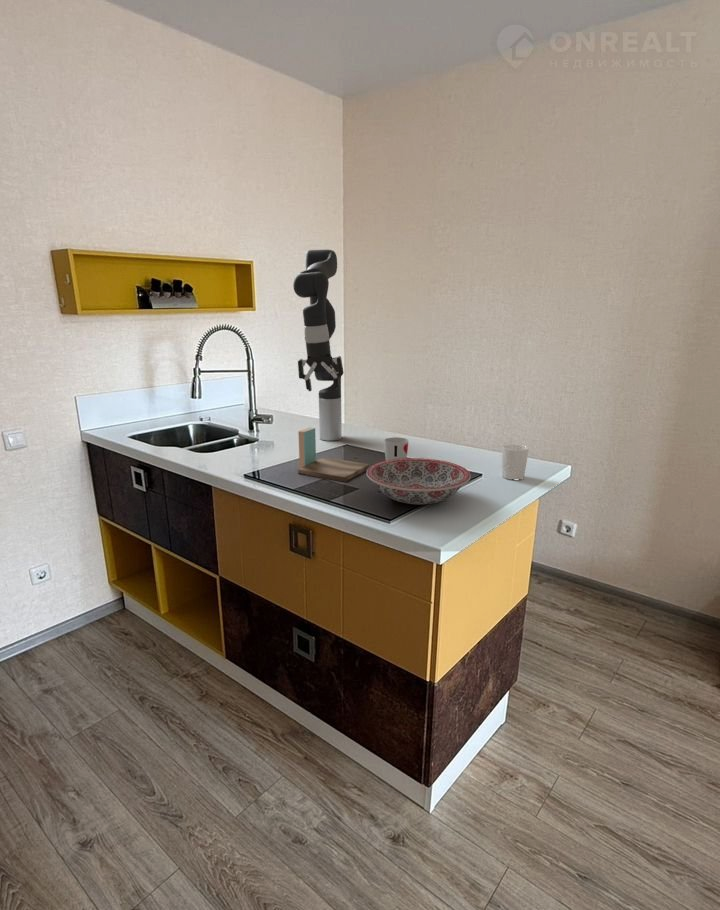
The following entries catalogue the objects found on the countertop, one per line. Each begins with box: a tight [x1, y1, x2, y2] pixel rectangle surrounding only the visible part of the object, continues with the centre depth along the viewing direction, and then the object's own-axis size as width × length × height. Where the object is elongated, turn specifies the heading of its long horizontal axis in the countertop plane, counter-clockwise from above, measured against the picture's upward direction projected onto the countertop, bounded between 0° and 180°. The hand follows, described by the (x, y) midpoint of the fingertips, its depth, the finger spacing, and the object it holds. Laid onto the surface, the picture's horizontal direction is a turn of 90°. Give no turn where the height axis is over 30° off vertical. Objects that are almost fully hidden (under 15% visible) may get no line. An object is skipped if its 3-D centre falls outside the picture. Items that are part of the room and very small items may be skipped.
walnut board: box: [297, 456, 370, 483], centre depth 175 cm, size 16×18×2 cm
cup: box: [383, 436, 409, 461], centre depth 176 cm, size 8×8×10 cm
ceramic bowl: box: [366, 457, 472, 505], centre depth 148 cm, size 29×29×8 cm
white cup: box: [501, 443, 529, 480], centre depth 167 cm, size 8×8×10 cm
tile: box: [297, 427, 317, 468], centre depth 178 cm, size 6×2×13 cm, turn 151°
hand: (322, 389), depth 170 cm, fingers open, 8 cm apart
